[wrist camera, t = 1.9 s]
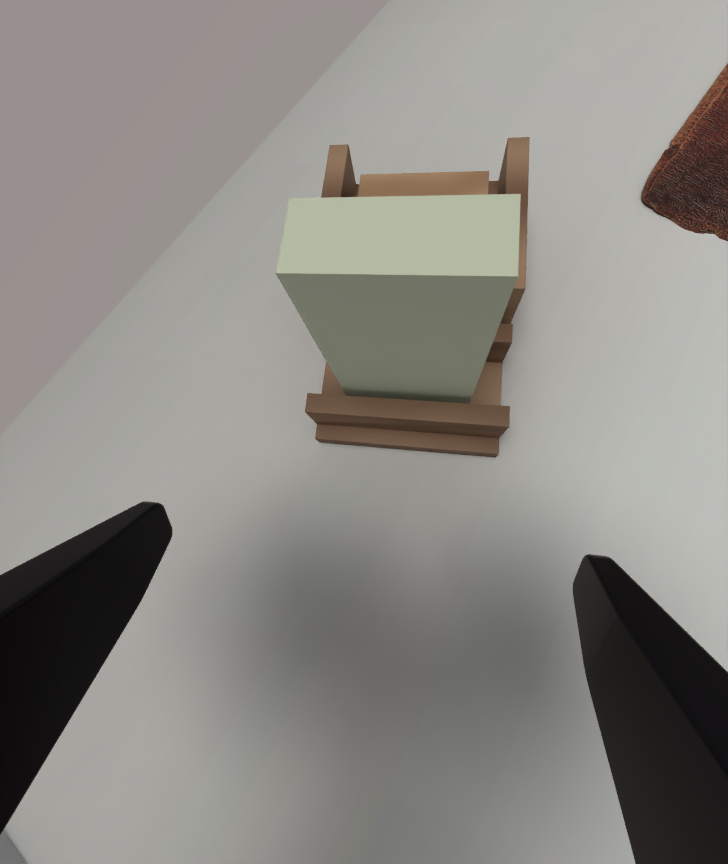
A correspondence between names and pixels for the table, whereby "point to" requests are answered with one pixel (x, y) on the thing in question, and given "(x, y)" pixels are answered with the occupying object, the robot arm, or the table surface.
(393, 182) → the small oak offcut
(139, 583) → the robot arm
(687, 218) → the wooden tablet
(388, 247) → the tall board
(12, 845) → the electronic device
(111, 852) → the table surface
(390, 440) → the offcut rack
